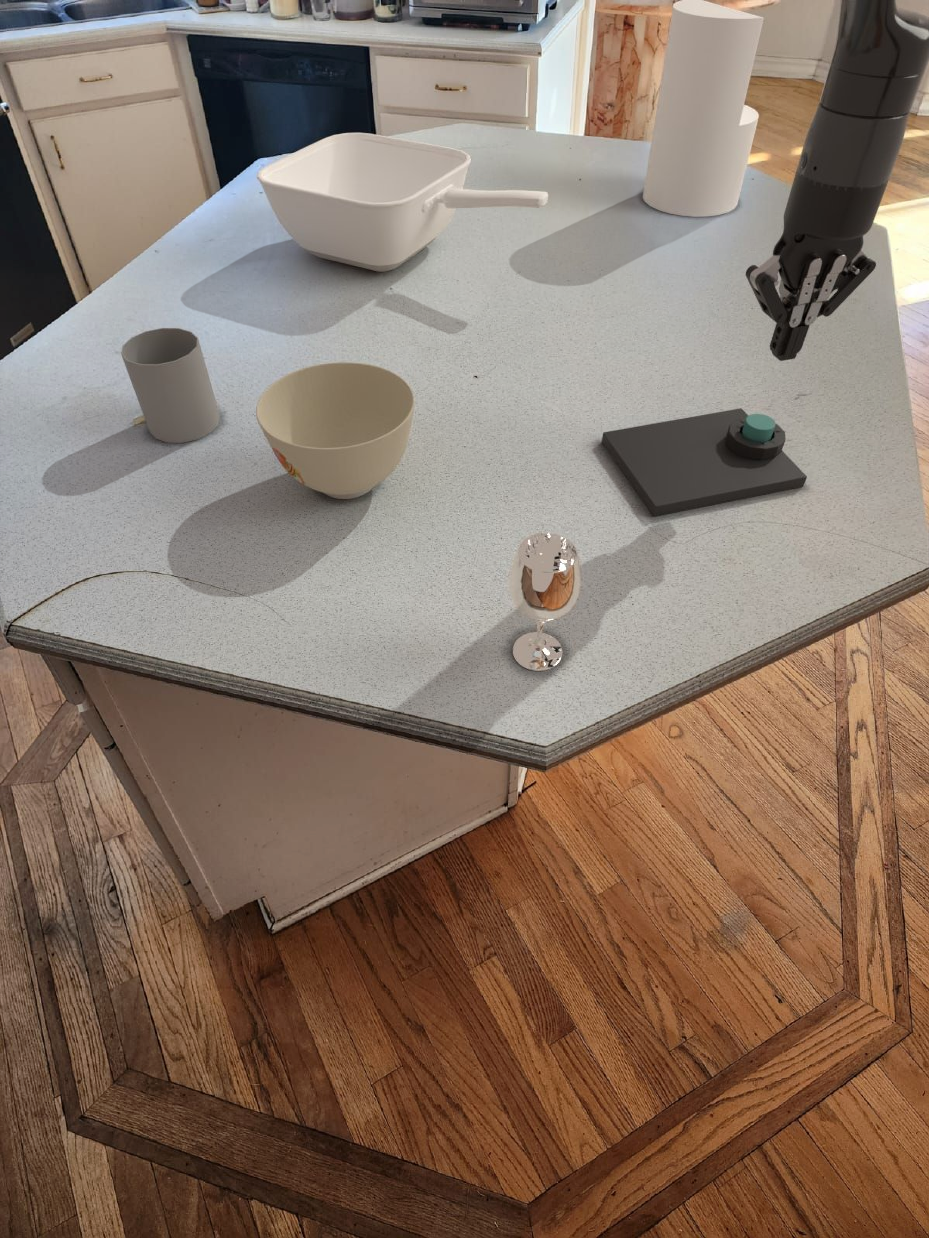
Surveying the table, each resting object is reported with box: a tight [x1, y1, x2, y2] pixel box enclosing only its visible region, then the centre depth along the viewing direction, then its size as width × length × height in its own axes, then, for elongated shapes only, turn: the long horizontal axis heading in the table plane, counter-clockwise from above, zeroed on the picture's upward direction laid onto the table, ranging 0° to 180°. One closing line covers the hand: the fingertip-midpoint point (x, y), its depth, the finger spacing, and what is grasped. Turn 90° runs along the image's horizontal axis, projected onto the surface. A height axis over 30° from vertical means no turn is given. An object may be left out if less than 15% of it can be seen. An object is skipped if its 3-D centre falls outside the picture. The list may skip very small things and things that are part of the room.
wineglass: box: [508, 532, 582, 672], centre depth 63 cm, size 6×6×12 cm
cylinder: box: [642, 0, 765, 218], centre depth 130 cm, size 17×17×28 cm
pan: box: [256, 132, 549, 273], centre depth 118 cm, size 27×44×13 cm, turn 61°
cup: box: [120, 327, 221, 444], centre depth 88 cm, size 8×8×10 cm
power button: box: [742, 413, 776, 442], centre depth 85 cm, size 3×3×2 cm
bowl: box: [255, 361, 416, 500], centre depth 80 cm, size 16×16×10 cm
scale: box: [601, 407, 808, 517], centre depth 85 cm, size 19×14×3 cm
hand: (782, 356), depth 77 cm, fingers closed
